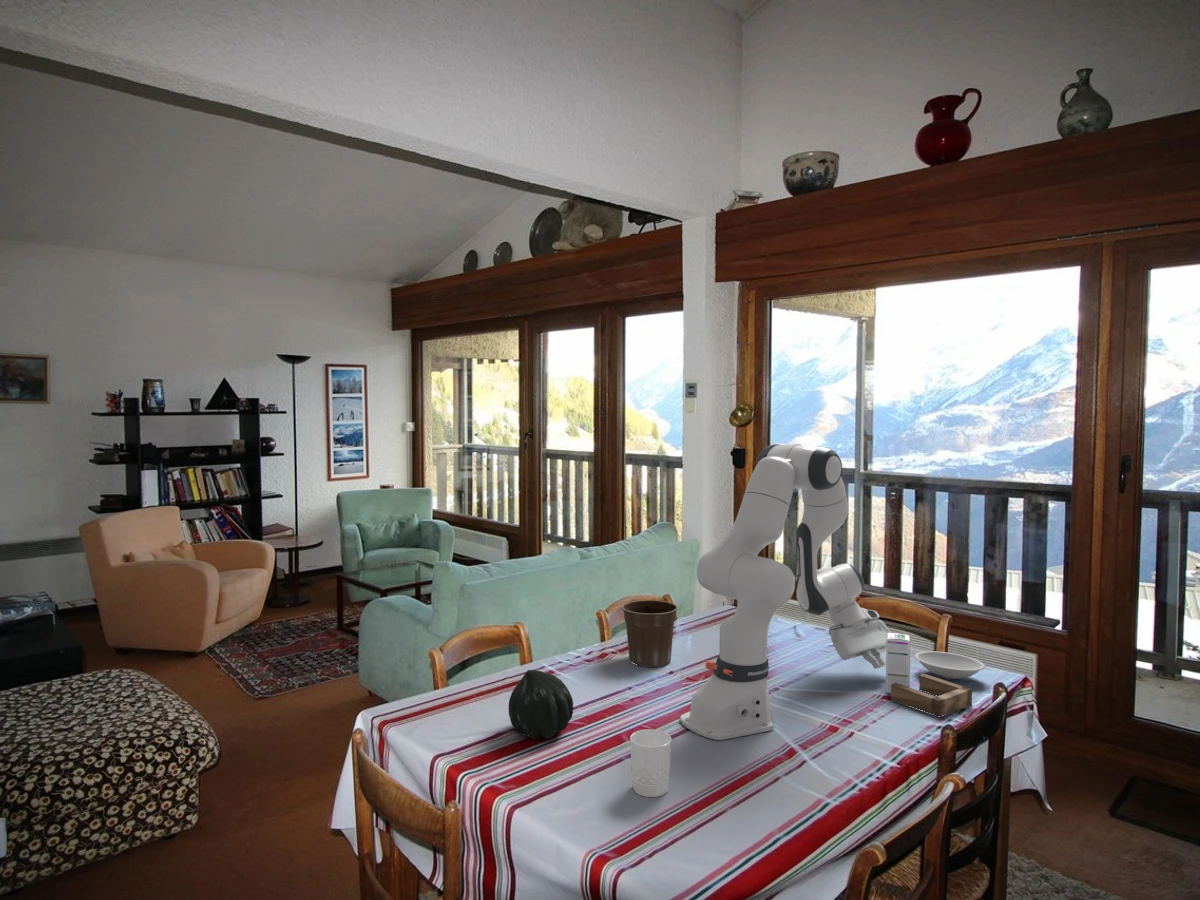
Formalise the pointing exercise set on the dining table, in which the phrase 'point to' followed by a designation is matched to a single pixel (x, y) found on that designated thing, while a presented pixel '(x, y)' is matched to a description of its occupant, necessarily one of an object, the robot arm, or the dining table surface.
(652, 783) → the white cup
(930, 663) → the dish
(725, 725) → the robot arm
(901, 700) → the walnut bay
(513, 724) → the squash
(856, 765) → the dining table surface
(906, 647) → the syrup box
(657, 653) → the plant pot
